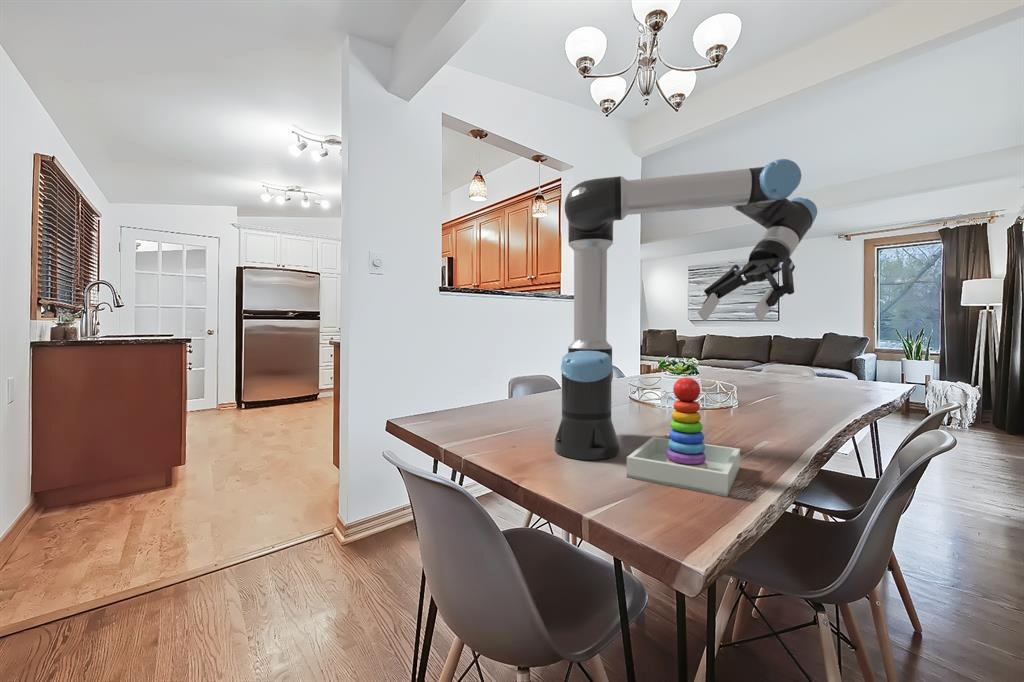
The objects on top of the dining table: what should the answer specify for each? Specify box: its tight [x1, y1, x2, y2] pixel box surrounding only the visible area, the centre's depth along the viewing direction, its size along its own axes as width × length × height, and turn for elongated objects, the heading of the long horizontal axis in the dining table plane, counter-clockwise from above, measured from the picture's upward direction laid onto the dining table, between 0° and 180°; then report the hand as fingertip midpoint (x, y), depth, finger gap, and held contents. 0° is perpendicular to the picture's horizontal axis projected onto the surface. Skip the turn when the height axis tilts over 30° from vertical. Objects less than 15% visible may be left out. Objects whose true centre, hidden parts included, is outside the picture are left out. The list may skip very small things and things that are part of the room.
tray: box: [626, 436, 741, 498], centre depth 88 cm, size 18×18×4 cm
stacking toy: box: [665, 376, 708, 469], centre depth 88 cm, size 8×8×19 cm
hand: (727, 316), depth 94 cm, fingers open, 13 cm apart
